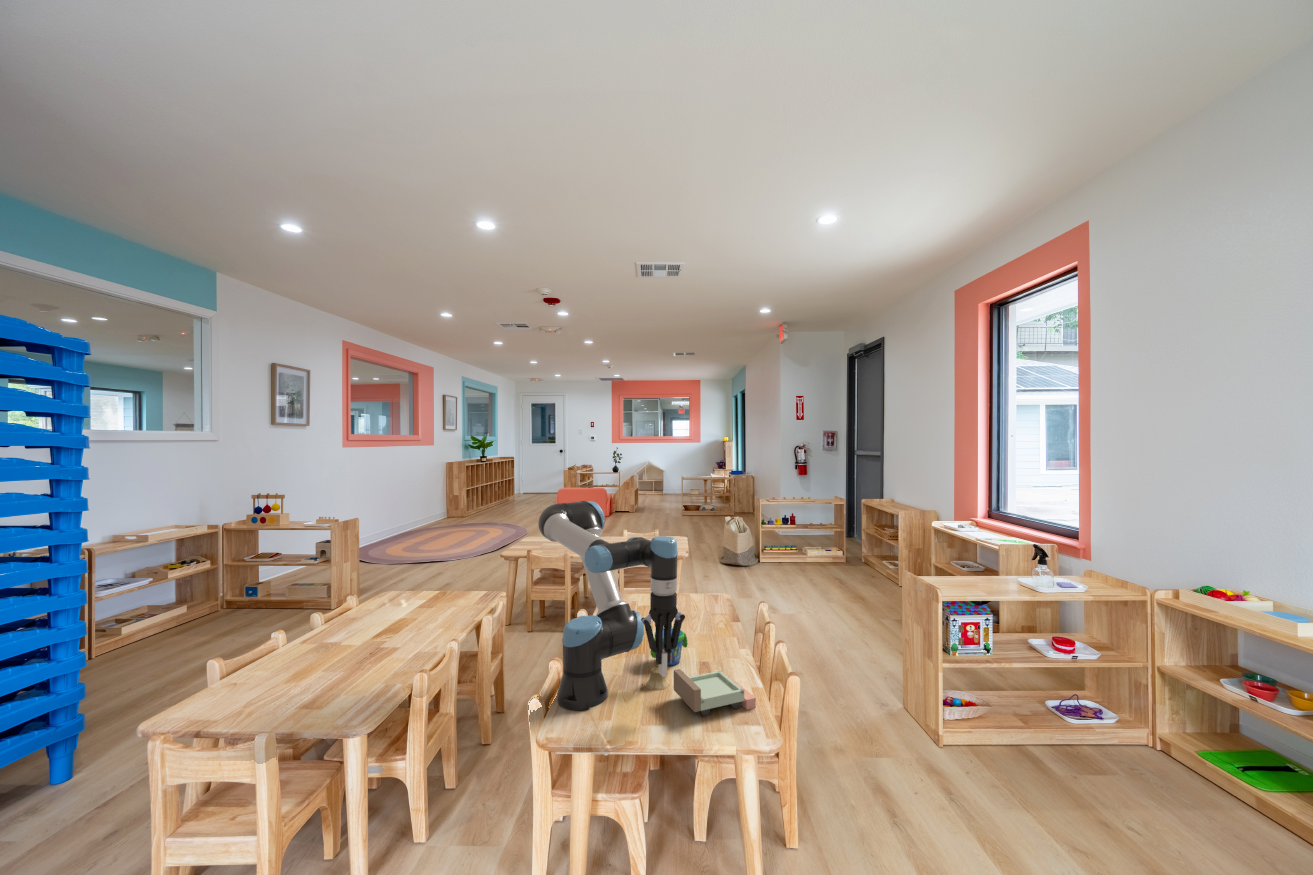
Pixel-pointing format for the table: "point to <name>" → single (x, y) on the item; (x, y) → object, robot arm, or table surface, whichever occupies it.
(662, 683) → the hand bell
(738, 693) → the pale green tray
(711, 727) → the table surface
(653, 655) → the snack cup
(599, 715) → the table surface
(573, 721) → the table surface
